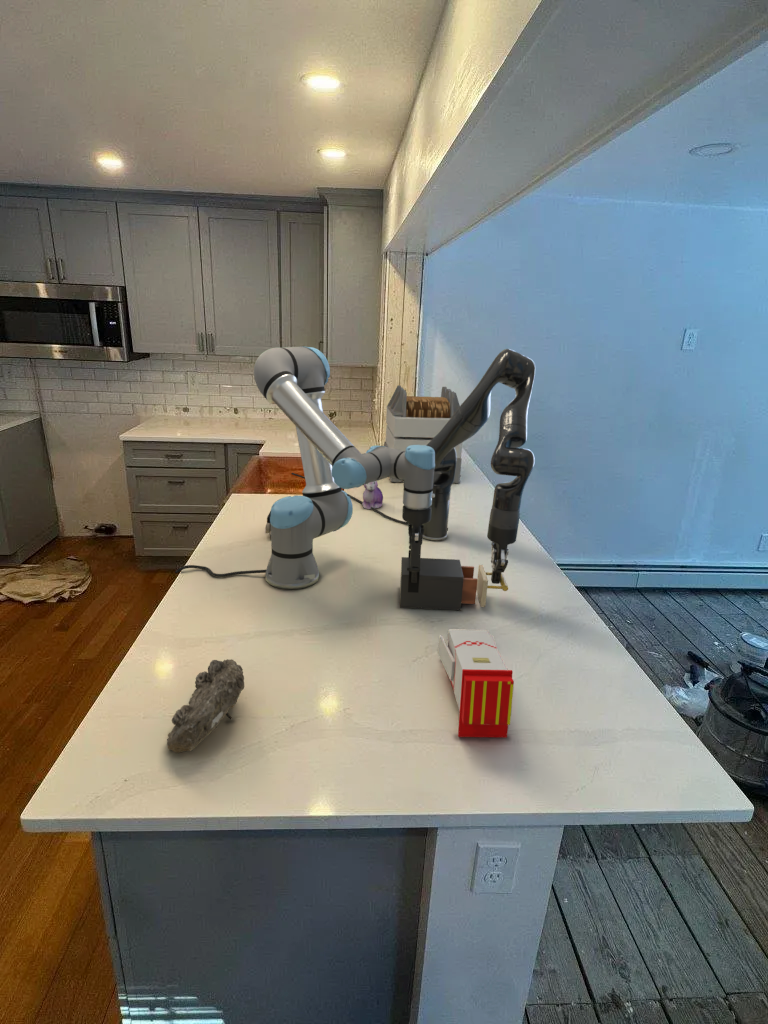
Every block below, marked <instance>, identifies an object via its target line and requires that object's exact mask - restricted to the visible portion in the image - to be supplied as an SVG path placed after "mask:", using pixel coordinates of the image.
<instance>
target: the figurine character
mask: <svg viewBox="0 0 768 1024" xmlns="http://www.w3.org/2000/svg"><path fill="white" fill-rule="evenodd" d="M270 516H271V510H269V512H268V515H267V517H266V524H265V533H266V534H269V536H270V538H271V523H270Z"/></svg>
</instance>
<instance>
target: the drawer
mask: <svg viewBox="0 0 768 1024" xmlns="http://www.w3.org/2000/svg"><path fill="white" fill-rule="evenodd" d="M461 568H462V572H463V577H464V579H463V590H462V601H461V604H468V605H475V604H476V601H477V599H478V602H479V606H480V608H486V604H487V594H488V589H493V590H502V591H504V592H507V591H508V590H509V586H508V582H507V580H506V578H505V575H504V572H501V578H500V583H499V584H500V585H488V584H489V580H488V577H487V576H492V572H489V571H487V572H486V570H485V566H484V564H478V570H477V578H474V573H475V566H473V565H471V566H470V565H461ZM476 598H477V599H476Z"/></svg>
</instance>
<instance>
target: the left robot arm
mask: <svg viewBox="0 0 768 1024" xmlns="http://www.w3.org/2000/svg"><path fill="white" fill-rule="evenodd" d="M330 376H331V368H330V363H329V361H328V358H327V357H326V355H325V354H324V353H323V352H322V351H321V350H319V348H315V347H312V346H304V345H302V346H286V347H271V348H268V349H266V350H264V351H263V352H262V353H261V354H259V356H258V357H257V359H255V363H254V366H253V377H254V378H253V379H254V382H255V384H256V387H257V389H258V390H259V392H260V394H261V395H262V396H263V398H265V400H266V401H267V402H268V403H269V404H272V405H276V406H277V407H278V409H280V410H281V412H283V414H284V415H285V416H286V417H287V418H288V419H289V420H290V422H291V423H292V424H293V425H294V427H295V430H296V437H297V441H298V447H299V453H300V459H301V463H302V464H301V465H302V469H303V475H304V477H305V479H304V480H305V486H304V488H303V490H302V491H301V493H302V495H293V496H292V495H288V496H284V497H282V498H279V499H278V500H276V501H275V502H273V504H272V505H271V506H270V507H271V508H270V511H271V516H270V523H271V531H270V535H271V537H270V540H271V541H270V547H271V548H270V549H271V553H270V557H269V560H268V563H267V566H266V569H253V570H237V571H232V572H227V573H226V572H225V573H215V572H213V571H212V570H211V568H209V567H207V566H203V565H195V564H188V565H183V566H181V567H179V568H177V569H176V570H175V574H178V573H180V572H182V571H183V570H187V569H198V570H204V571H207V572H208V574H209V575H211V576H213V577H216V578H226V577H230V576H237V575H250V574H265V581H266V583H267V584H269V585H270V586H271V587H274V588H277V589H282V590H300V589H304V588H308V587H310V586H313V585H314V584H316V583H317V582H318V581H319V579H320V570H319V567H318V564H317V561H316V558H315V555H314V545H313V544H314V539H317V538H319V537H322V536H325V535H327V534H330V533H332V532H337V531H338V530H340V529H342V528H343V527H345V526H347V525H348V524H349V522H350V521H351V519H352V516H353V511H354V507H353V502H352V498H350V497H349V496H347V494H348V492H346V491H345V490H351V489H357V488H360V487H362V486H364V484H367V483H370V482H374V481H377V482H378V481H380V480H383V479H386V478H389V477H391V478H395V479H399V480H402V481H403V489H402V490H403V491H402V504H403V506H402V514H401V517H402V521H404V522H408V523H411V524H409V525H408V524H407V528H408V529H407V530H408V532H407V533H408V555H407V556H408V557H410V567H409V568H407V570H408V571H409V581H408V592H414V593H418V589H419V574H420V558H421V557H422V556H421V554H422V545H423V538H422V537H423V533H424V528H423V525H421V524H423V523H428V522H429V521H430V520H431V511H432V508H431V505H432V498H434V497H435V494H432V493H433V479H434V468H435V451H434V449H433V448H432V447H429V446H425V445H410V446H408V447H407V448H406V451H402V450H398V449H393V448H389V447H386V446H384V445H378V444H377V445H371V446H370V447H369V449H367V450H366V451H365V452H364V453H361V452H360V450H359V449H358V448H357V447H356V446H355V445H354V444H353V443H352V442H351V441H350V440H349V439H348V438H347V437H346V435H345V434H344V433H343V432H342V431H341V430H340V429H339V428H338V427H337V426H336V425H335V423H333V421H332V420H331V419H329V417H328V416H327V415H326V414H325V413H324V408H323V403H322V398H323V396H324V395H325V393H326V389H325V385H327V383H328V382H329V378H330Z"/></svg>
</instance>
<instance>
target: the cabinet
mask: <svg viewBox="0 0 768 1024" xmlns="http://www.w3.org/2000/svg"><path fill="white" fill-rule="evenodd" d="M400 561H401V562H400V563H401V564H400V583H399V608H400V609H402V608H404V609H424V610H442V611H443V610H444V611H445V610H446V611H461V610H462V603H461V601H462V590H463V579H464V577H463V572H462V568H461V566H462V563H461V559H455V558H454V559H452V558H433V557H432V558H429V557H420V574H419V589H418V593H414V592H408V581H409V571H408V570H407V568H409V567H410V557H407V556H401V559H400Z"/></svg>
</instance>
